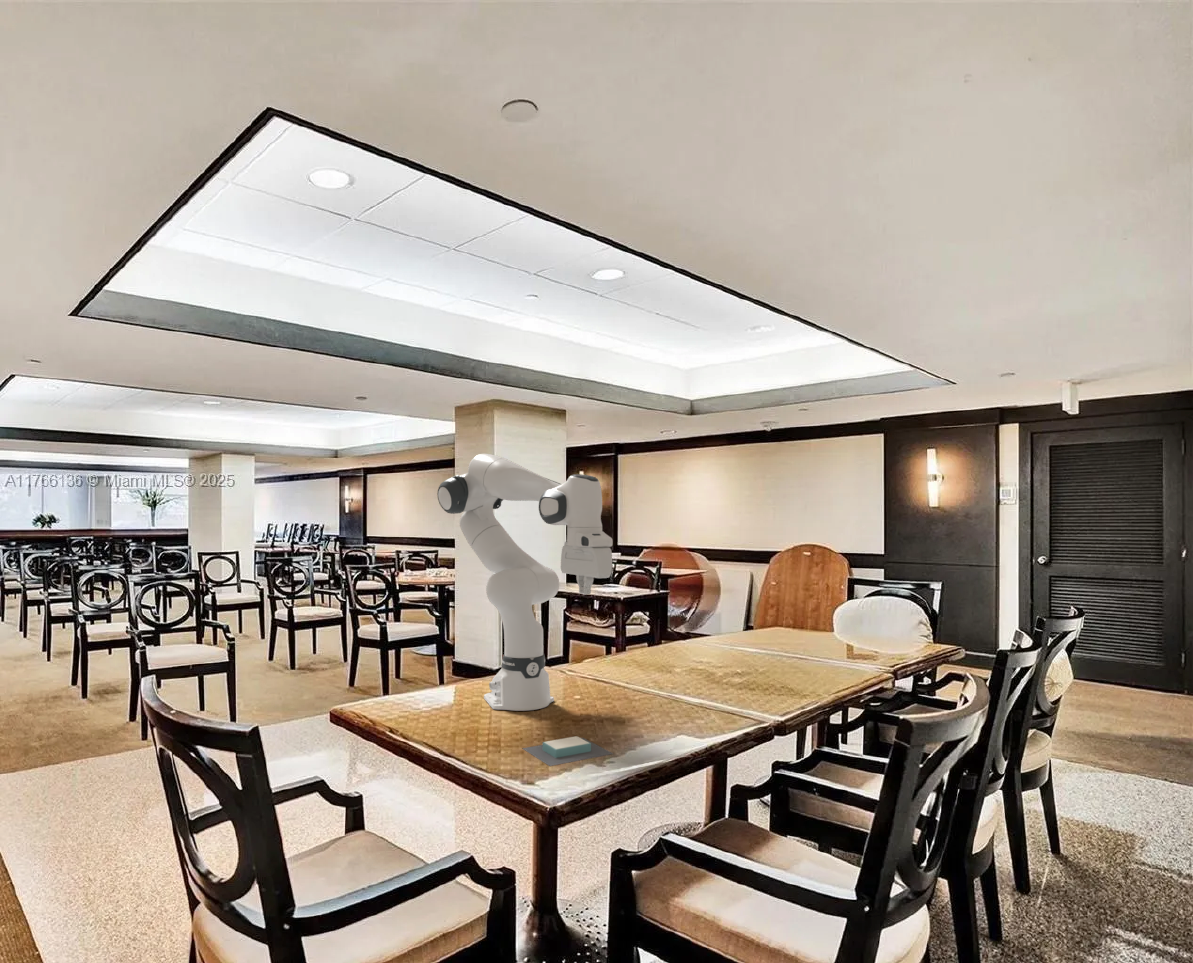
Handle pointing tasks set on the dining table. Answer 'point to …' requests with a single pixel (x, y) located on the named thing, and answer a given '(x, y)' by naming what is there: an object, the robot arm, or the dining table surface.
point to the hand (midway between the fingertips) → (584, 593)
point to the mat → (551, 761)
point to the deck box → (566, 746)
